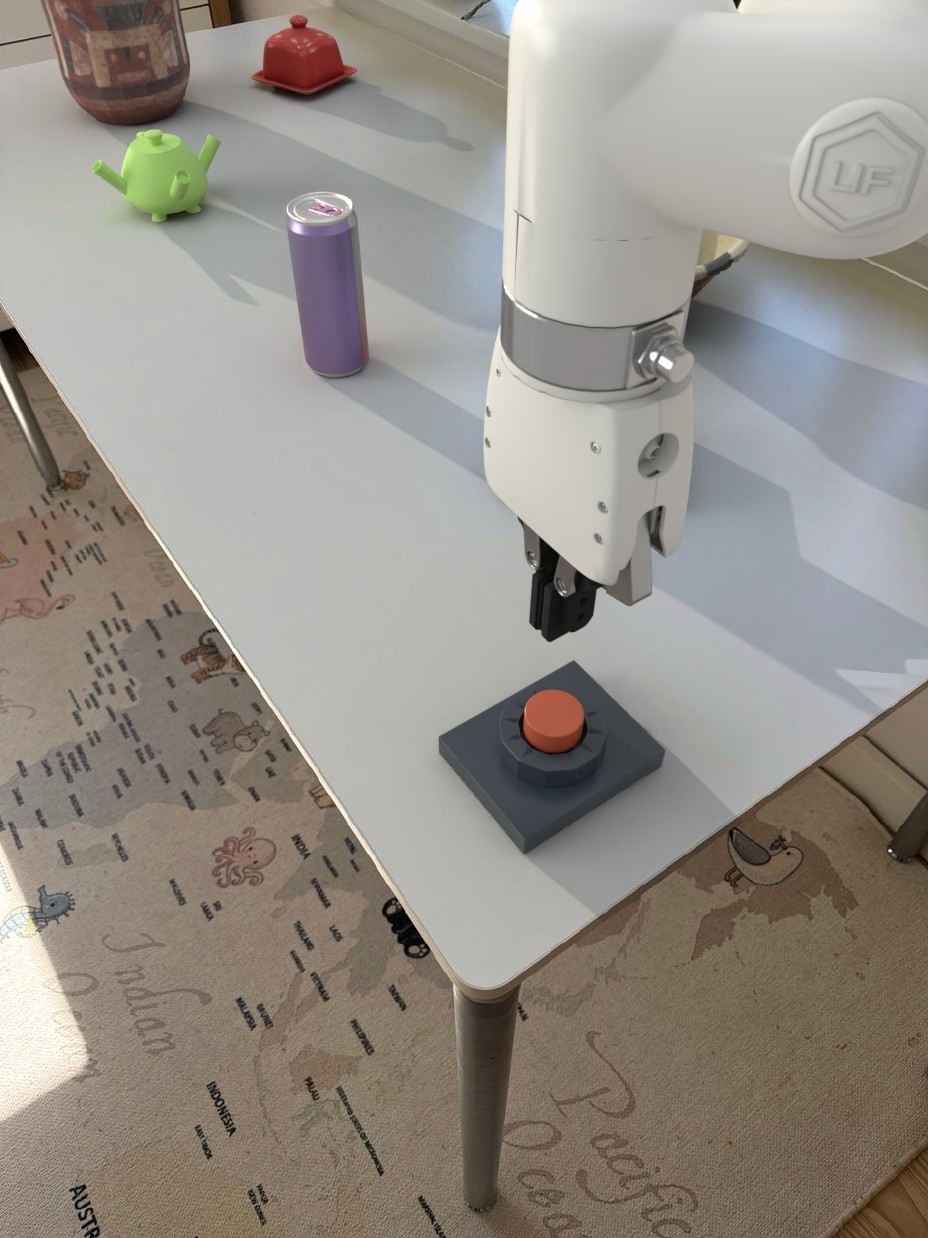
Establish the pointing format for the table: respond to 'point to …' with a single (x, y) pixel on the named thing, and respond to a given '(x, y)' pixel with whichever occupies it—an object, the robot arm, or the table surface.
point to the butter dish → (302, 59)
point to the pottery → (121, 56)
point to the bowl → (716, 257)
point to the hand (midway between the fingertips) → (560, 622)
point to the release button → (553, 721)
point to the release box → (549, 759)
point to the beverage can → (328, 282)
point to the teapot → (161, 174)
